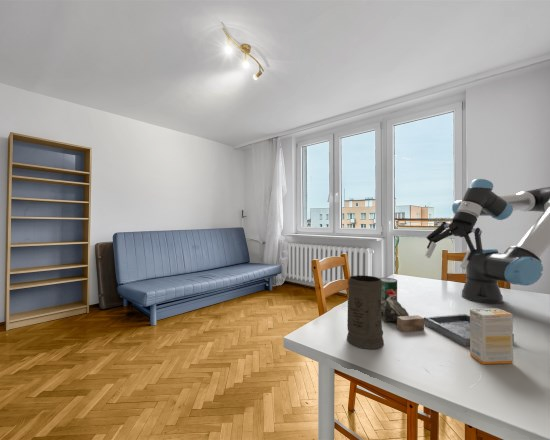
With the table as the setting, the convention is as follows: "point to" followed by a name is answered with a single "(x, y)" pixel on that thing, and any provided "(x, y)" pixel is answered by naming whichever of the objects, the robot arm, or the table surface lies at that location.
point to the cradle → (409, 322)
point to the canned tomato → (388, 288)
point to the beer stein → (365, 312)
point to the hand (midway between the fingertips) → (443, 262)
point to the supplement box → (491, 336)
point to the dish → (452, 327)
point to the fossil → (392, 310)
